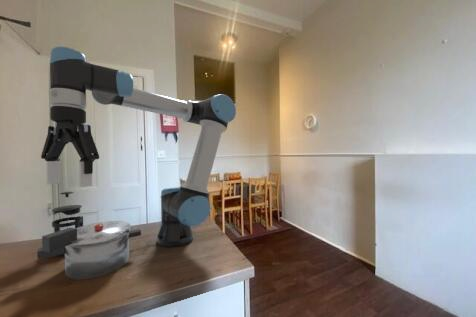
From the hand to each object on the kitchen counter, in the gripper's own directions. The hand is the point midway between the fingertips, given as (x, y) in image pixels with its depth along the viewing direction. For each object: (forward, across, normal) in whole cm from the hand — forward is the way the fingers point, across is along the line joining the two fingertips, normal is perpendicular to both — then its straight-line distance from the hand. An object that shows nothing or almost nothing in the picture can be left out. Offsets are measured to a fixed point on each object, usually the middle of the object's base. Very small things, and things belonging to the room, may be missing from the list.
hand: (69, 185), depth 56 cm
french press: (+29, -27, +16) cm, 43 cm away
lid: (+19, -6, +10) cm, 22 cm away
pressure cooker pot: (+29, -6, +13) cm, 32 cm away
